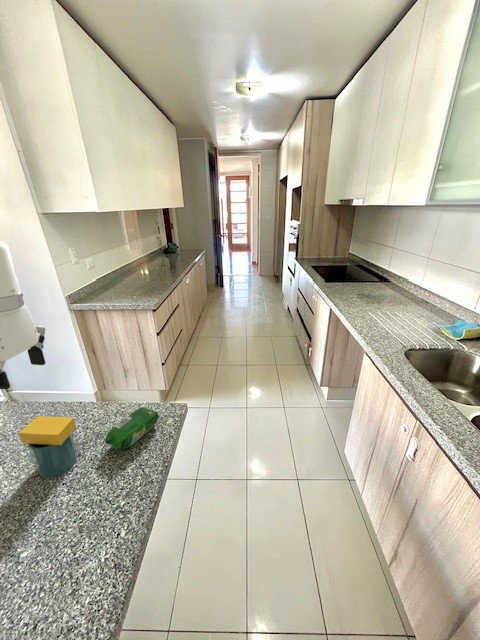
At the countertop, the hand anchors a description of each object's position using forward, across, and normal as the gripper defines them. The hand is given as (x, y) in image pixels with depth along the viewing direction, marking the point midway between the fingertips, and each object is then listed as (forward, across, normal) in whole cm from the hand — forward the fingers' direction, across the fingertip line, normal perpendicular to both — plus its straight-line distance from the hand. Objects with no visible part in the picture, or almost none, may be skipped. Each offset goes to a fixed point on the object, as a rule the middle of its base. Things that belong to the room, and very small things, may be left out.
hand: (21, 375), depth 59 cm
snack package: (+23, -8, +20) cm, 32 cm away
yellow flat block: (+14, +2, +5) cm, 16 cm away
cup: (+24, +2, +5) cm, 24 cm away
